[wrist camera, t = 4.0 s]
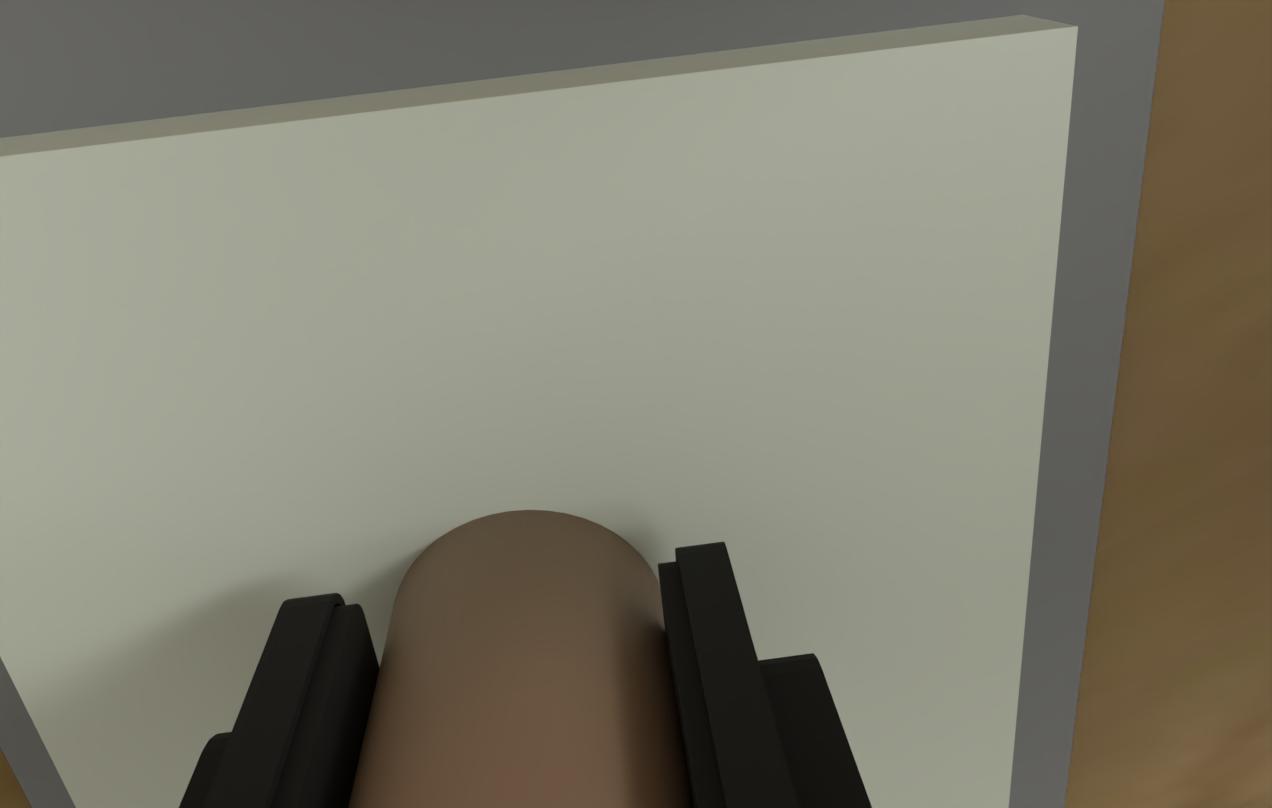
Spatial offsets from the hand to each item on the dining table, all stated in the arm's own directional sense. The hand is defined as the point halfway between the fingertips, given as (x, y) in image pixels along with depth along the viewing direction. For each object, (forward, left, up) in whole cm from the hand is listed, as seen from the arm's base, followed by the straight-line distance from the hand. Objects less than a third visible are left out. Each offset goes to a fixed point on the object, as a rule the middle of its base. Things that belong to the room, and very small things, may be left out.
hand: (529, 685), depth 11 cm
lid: (0, 0, -2) cm, 2 cm away
